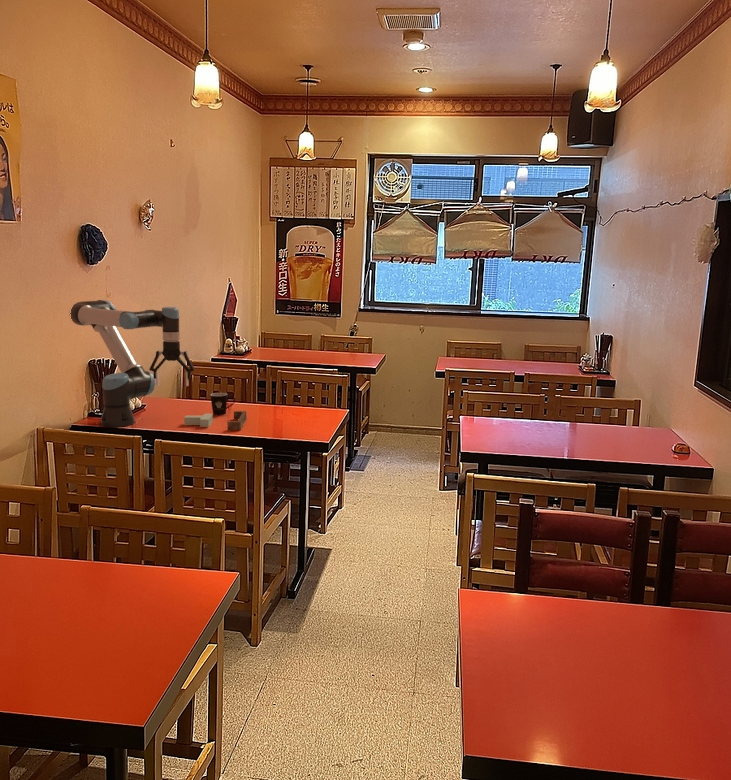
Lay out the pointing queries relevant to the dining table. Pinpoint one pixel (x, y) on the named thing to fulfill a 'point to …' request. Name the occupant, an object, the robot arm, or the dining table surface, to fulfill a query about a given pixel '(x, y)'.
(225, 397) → the coffee mug
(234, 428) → the fence
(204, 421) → the tee block
